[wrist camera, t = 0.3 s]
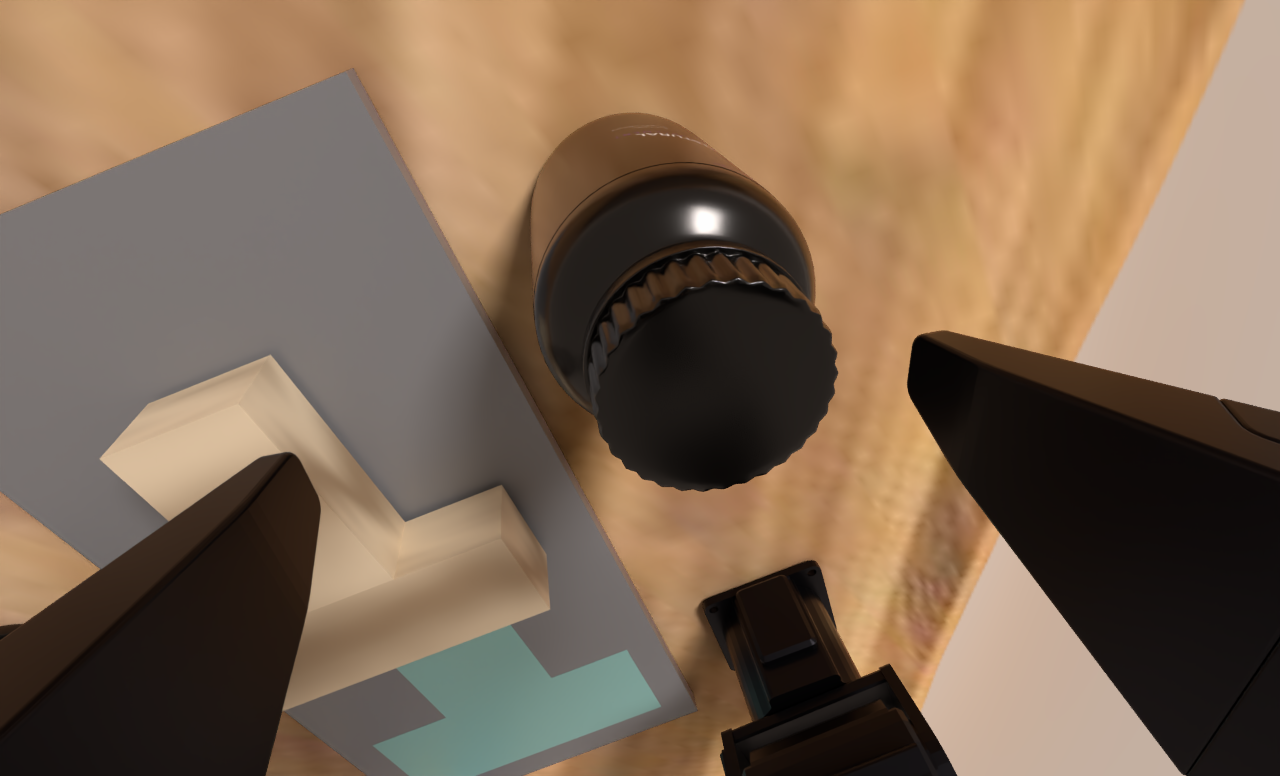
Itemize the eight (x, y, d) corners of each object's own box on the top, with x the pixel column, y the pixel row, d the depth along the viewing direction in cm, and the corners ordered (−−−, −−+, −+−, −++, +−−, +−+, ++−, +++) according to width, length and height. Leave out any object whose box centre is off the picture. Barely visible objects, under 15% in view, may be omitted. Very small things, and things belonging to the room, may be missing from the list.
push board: (693, 694, 38) (697, 711, 37) (419, 796, 39) (417, 815, 38) (353, 67, 18) (345, 71, 17) (-199, 296, 19) (-233, 311, 18)
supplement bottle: (700, 79, 20) (893, 162, 10) (737, 271, 24) (904, 472, 14) (494, 145, 20) (480, 296, 10) (564, 327, 24) (605, 571, 14)
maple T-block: (545, 549, 28) (550, 609, 25) (281, 650, 29) (256, 721, 26) (389, 303, 21) (371, 350, 18) (39, 444, 21) (-30, 510, 19)
